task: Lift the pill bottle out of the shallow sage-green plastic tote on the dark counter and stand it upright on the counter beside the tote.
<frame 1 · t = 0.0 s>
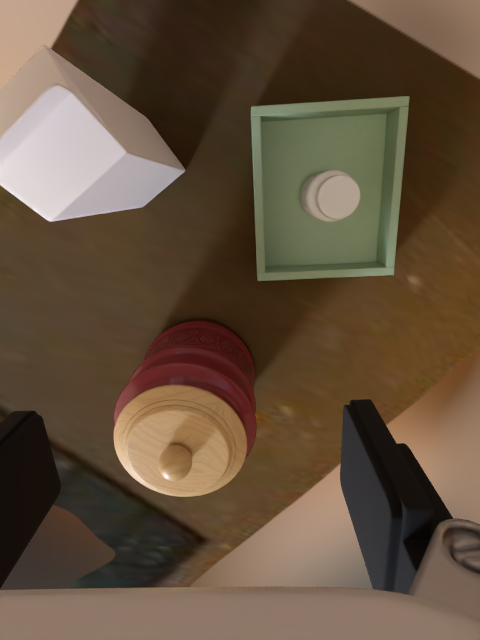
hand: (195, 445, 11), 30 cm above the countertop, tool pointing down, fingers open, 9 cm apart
kitchen canister: (201, 366, 44), on the countertop
tote: (320, 195, 37), on the countertop
pill bottle: (320, 195, 37), resting on tote
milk: (145, 164, 37), on the countertop
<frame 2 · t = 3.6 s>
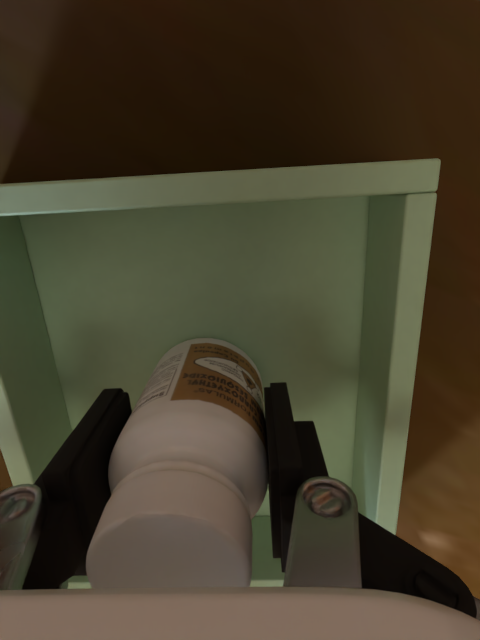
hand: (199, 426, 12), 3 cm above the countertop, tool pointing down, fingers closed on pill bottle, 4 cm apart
tote: (209, 379, 15), on the countertop
pill bottle: (208, 382, 15), resting on tote, touching gripper
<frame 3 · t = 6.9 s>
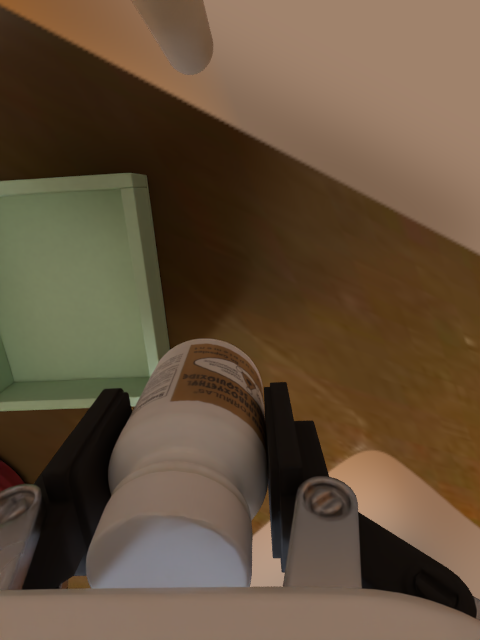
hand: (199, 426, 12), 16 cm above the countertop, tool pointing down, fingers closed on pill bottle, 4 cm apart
tote: (71, 293, 27), on the countertop
pill bottle: (208, 382, 15), point 13 cm above the countertop, touching gripper
when the fingers open (3 cm above the countertop, at t = 10.2 s): pill bottle stays where it is, on the countertop.
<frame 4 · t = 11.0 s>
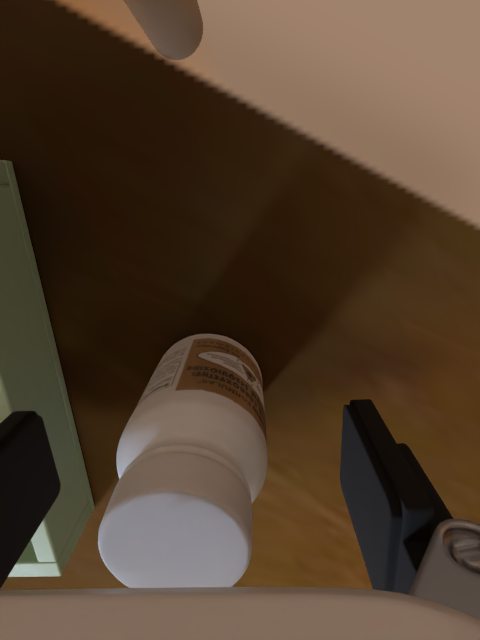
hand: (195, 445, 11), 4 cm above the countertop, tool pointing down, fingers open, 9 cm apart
pill bottle: (210, 376, 15), on the countertop
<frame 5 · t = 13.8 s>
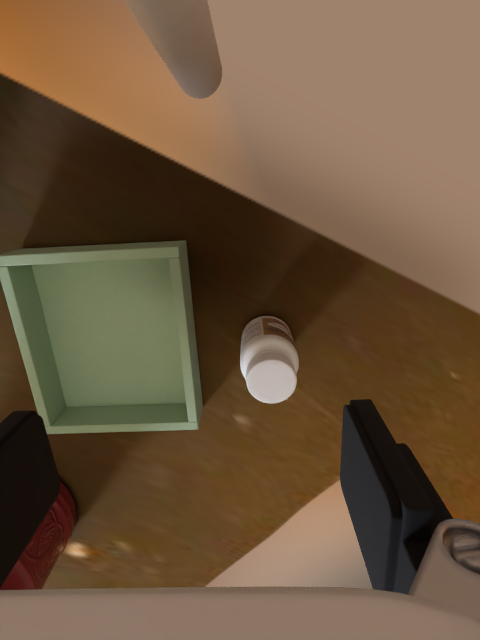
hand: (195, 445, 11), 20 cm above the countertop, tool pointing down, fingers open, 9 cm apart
kitchen canister: (20, 502, 39), on the countertop
tote: (118, 333, 32), on the countertop
pill bottle: (266, 337, 32), on the countertop
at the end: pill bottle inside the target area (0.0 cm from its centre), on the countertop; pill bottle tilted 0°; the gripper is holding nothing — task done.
